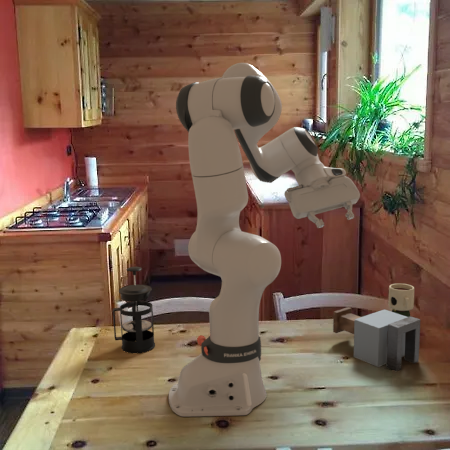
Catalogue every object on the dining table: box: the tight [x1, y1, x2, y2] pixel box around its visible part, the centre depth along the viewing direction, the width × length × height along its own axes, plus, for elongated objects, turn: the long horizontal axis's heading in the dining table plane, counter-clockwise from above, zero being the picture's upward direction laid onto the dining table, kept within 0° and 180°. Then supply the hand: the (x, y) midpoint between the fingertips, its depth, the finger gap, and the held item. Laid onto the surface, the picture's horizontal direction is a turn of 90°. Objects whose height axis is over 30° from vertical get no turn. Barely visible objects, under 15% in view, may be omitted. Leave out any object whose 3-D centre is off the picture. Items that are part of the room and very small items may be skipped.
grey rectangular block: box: [353, 309, 407, 368], centre depth 153 cm, size 8×12×10 cm, turn 126°
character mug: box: [387, 283, 415, 317], centre depth 170 cm, size 11×7×13 cm, turn 3°
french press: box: [112, 266, 156, 354], centre depth 161 cm, size 12×9×23 cm
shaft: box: [332, 306, 388, 341], centre depth 157 cm, size 18×6×6 cm, turn 36°
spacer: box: [386, 315, 421, 372], centre depth 147 cm, size 3×9×12 cm, turn 126°
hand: (336, 222), depth 157 cm, fingers open, 8 cm apart
